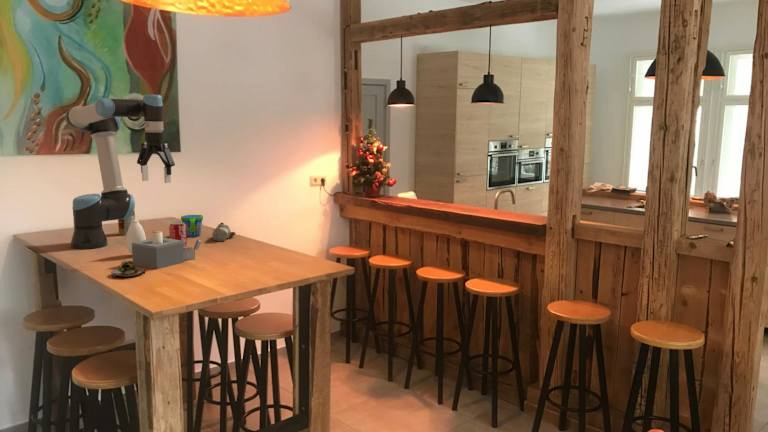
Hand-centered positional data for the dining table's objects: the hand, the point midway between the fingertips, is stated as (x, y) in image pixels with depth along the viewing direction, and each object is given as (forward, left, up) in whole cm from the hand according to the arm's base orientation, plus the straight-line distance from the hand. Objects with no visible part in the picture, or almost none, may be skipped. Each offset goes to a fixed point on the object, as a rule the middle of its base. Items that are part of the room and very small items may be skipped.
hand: (156, 181), depth 259 cm
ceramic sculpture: (0, +39, -32) cm, 51 cm away
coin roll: (+13, -12, -31) cm, 35 cm away
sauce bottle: (-6, -7, -32) cm, 33 cm away
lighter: (+19, +1, -32) cm, 37 cm away
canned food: (-49, +23, -32) cm, 63 cm away
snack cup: (-18, +37, -32) cm, 52 cm away
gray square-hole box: (+13, -12, -32) cm, 36 cm away
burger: (+18, -31, -32) cm, 48 cm away
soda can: (+3, +8, -32) cm, 33 cm away
